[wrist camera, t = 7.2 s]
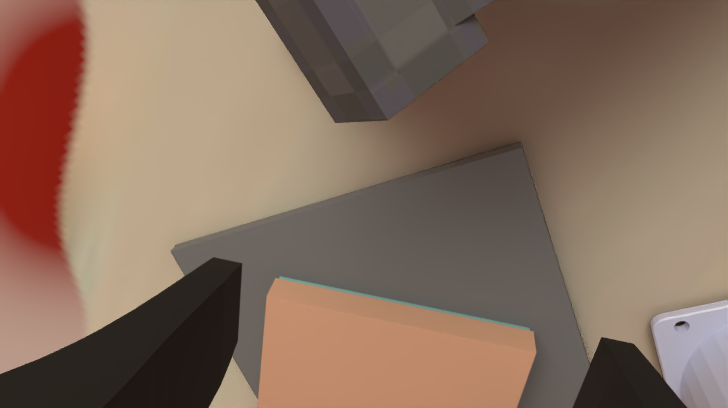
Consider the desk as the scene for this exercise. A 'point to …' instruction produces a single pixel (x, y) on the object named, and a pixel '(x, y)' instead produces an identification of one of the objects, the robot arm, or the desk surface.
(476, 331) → the tile
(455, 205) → the mat
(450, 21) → the handgun
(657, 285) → the desk surface
